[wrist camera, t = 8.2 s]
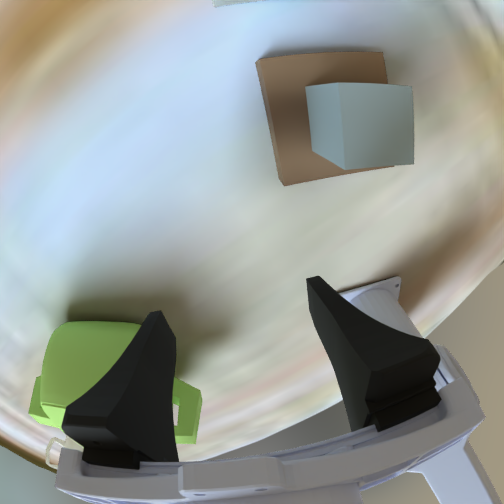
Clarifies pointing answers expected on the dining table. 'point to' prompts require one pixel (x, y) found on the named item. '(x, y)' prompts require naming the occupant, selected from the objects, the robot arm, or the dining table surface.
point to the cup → (66, 444)
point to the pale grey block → (362, 124)
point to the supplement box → (230, 2)
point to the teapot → (97, 373)
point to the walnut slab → (296, 110)
